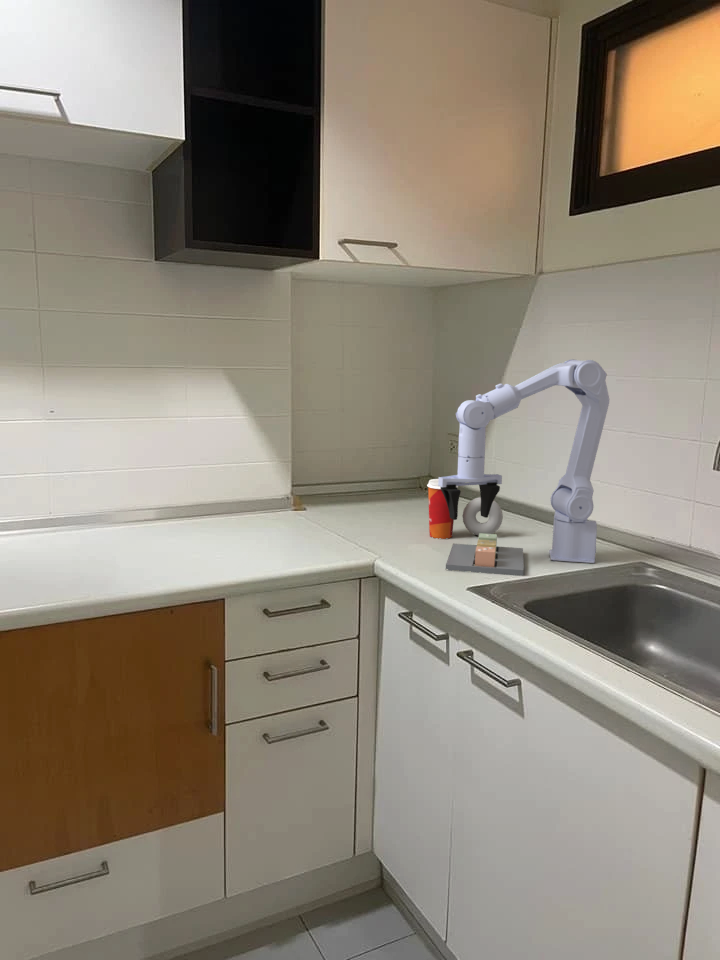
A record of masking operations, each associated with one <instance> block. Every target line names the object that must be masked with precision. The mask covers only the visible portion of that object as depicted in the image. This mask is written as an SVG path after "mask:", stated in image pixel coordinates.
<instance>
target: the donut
mask: <svg viewBox="0 0 720 960" xmlns="http://www.w3.org/2000/svg"><path fill="white" fill-rule="evenodd" d="M480 510H481V496H479V497H475V498H474V499H471V500H470V501H469V502H468V503H467V504H466V505H465V506H464V508H463V512H462V516H461V517H462V522H463V525H464V527H465V528H466V529H467V530H468V531H469V533H471V534H473V535H474V536H478V537H479V533H483V534H494V533H496V532H497V530H499V529H500V527H501V525H502V524H503V519H504V516H503V510H502V508H501V505H500V504H499V503H498V502H496V500H494V501H493V503H492V506H491V508H490V512H489V515H488V520H487V521H485V522H480V521H478V520H477V514H478V513H479V512H480Z"/></svg>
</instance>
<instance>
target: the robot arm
mask: <svg viewBox="0 0 720 960" xmlns="http://www.w3.org/2000/svg"><path fill="white" fill-rule="evenodd" d="M607 375H608V374H607V372H606V370H604V368H603V367H602V366H601V364H599V362H597V361H596V360H593V359H586V360H584V359H583V360H581V359H580V360H579V359H573V358H572V359H568V360H566V361H563V362H560V363H557V364H554V365H552V366H550V367H548V368H547V369H544V370H542V371H540V372H539V373H537V374H536V375H533V376H531V377H529V378H527V379H525V380H524V381H522V382H520V383H518V384H516V385H514V386H513V385H512V384H509V383H504V384H503V383H498V384H496V385H495V389H492V390H490V391H488V392H486V393H483V394H480V393H479V394H477V395H475V400H474V399H473V400H472V399H470V400H469V399H467V400H465V401H463V402H462V403H461V404H460V405H459V406H458V408H457V411H456V412H455V416H456V421H458V423H459V429H458V430H459V431H458V432H459V434H458V447H457V449H458V450H457V452H458V454H457V474H453V475H447V476H441V477H440V476H438V479H439V480H438V486H440V487H441V491H442V493H443V495H444V497H445V500H446V502H447V506H448V510H449V515H450V518H451V519H453V520H454V521H455V520H458V516H459V515H458V514H459V513H458V512H459V509H458V508H459V499H460V496H461V492H462V491H461V490H460V489H458V488H457V487H456V486H458V487H460V486H462V487H463V486H479V492H480V494H479V495H480V497H481V510H480V511H479V512H480V516H481V517H483V518H486V519H487V518H489V512H490V508H491V506H492V503H493V501H495V498H496V497H497V496H498V494H499V492H500V490H501V487H500V485H502V484H503V483H502V482H503V475H502V474H495V473H494V474H493V473H492V474H490V473H489V474H485V463H486V462H485V460H486V457H485V456H486V437H487V436H486V432H487V431H486V428H487V427H486V426H488V425H489V423H490V421H493V420H495V419H497V418H500V417H501V416H503V415H505V414H507V413H510V412H512V411H514V410H516V409H518V408H519V406H520V403H521V402H522V400H524V399H526V398H529V397H530V396H534V395H535V394H538V393H540V392H543V391H545V390H547V389H550V388H552V387H555V386H557V387H558V386H562V387H565V388H566V389H568V390H569V391H570V392H572V393H573V394H574V395H575V398H577V399H578V401H579V402H580V404H581V410H580V414H579V418H578V423H577V426H576V431H575V435H574V438H573V443H572V447H571V449H570V454H569V459H568V462H567V467H566V471H565V473H564V475H563V476H561V478H560V479H559V480H558V483H557V486H556V488H555V489H554V491H553V492H552V493H551V496H550V507H552V510H554V515H553V526H552V527H553V531H552V543H551V549H548V550H549V558H550V560H551V561H558V562H559V561H560V562H571V563H572V562H573V563H585V564H586V563H587V564H590V563H591V564H595V563H596V560H595V559H596V553H597V537H598V536H597V533H598V532H597V531H598V527H597V524H598V523H597V521H596V520H593V519H592V520H590V519H589V517H590V516H591V515H592V514H593V511H594V508H595V506H594V500H593V496H594V488H593V485H592V482H591V477H592V473H593V469H594V465H595V460H596V457H597V453H598V451H599V450H598V449H599V446H600V445H599V444H600V442H601V436H602V434H603V430H604V429H603V428H604V425H605V422H606V418H607V413H608V410H609V406H610V395H609V391H608V386H607V382H606V378H607Z"/></svg>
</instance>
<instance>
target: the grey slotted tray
mask: <svg viewBox="0 0 720 960" xmlns="http://www.w3.org/2000/svg"><path fill="white" fill-rule="evenodd" d="M476 547H477V544H469V543H467V544H465V543H452V545H451V549H450V551H449V555H448V558H447V560H446V563H445V570H446V569H448V570H447V571H452V570H459V571H458V572H465V571H471V572H470V573H479V572H481V573H482V574H492V573H494V575H495V574H496V575H505V574H506V575H508V576H519V577H523V576H524V548H523V547H512V546H510V547H509V546H497V545H496V556H495V564H494V567H485V566H475V552H476ZM481 573H480V574H481Z"/></svg>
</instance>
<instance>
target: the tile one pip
mask: <svg viewBox="0 0 720 960" xmlns="http://www.w3.org/2000/svg"><path fill="white" fill-rule="evenodd" d="M478 540H493V541H496V546H497V544H498V542H497V541H498V534H496V533H495V534H494V533H493V534H483V533H479V536H478V539H477V541H478Z"/></svg>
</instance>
